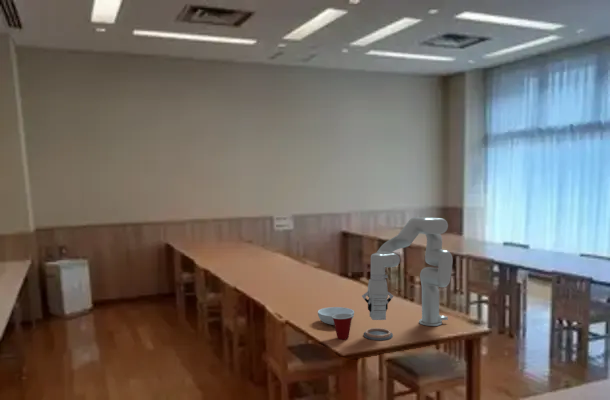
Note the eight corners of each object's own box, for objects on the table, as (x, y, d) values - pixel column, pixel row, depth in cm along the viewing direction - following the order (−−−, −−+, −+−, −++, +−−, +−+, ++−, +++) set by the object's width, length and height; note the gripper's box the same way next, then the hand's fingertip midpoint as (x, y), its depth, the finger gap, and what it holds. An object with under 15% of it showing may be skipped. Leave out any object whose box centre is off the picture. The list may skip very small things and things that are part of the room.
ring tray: (389, 331, 277) (389, 327, 277) (395, 340, 262) (395, 335, 262) (361, 331, 276) (361, 327, 276) (366, 340, 261) (366, 336, 261)
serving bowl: (357, 319, 301) (357, 307, 300) (350, 329, 281) (350, 317, 280) (322, 317, 306) (322, 305, 306) (313, 327, 286) (313, 314, 286)
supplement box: (369, 316, 272) (369, 292, 271) (383, 316, 272) (383, 292, 272) (371, 320, 265) (372, 295, 264) (386, 320, 265) (386, 295, 265)
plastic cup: (341, 333, 274) (341, 311, 274) (357, 337, 266) (357, 315, 266) (327, 338, 267) (327, 315, 266) (343, 342, 259) (343, 319, 258)
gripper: (392, 275, 272) (392, 308, 273) (360, 276, 271) (359, 309, 272) (396, 278, 264) (395, 312, 265) (362, 279, 263) (362, 313, 264)
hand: (377, 310), depth 268 cm, fingers closed on supplement box, 7 cm apart
